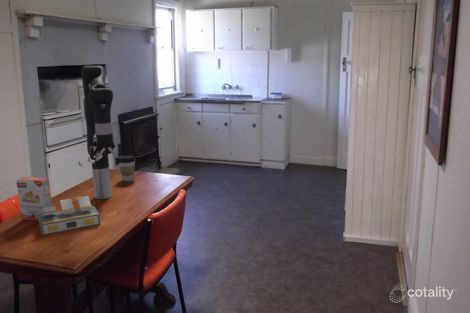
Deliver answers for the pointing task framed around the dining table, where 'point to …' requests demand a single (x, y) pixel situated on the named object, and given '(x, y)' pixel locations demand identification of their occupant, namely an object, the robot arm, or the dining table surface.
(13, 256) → the dining table surface
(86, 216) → the switch unit
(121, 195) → the dining table surface
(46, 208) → the rocker left
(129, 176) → the coffee cup
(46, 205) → the cracker box
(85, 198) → the rocker right
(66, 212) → the rocker mid
